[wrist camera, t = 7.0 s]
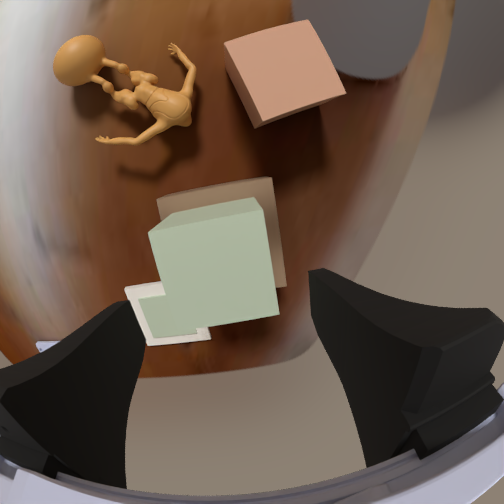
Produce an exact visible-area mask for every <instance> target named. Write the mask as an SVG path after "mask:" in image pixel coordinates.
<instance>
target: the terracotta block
mask: <svg viewBox="0 0 504 504" xmlns="http://www.w3.org/2000/svg"><path fill="white" fill-rule="evenodd" d="M224 54H225V69H226V71H227V73H228V75H229V77H230V79H231V81H232V83H233V85H234V87H235V89H236V91H237V93H238V95H239V97H240V99H241V101H242V103H243V105H244V107H245V110H246V112H247V114H248V116H249V118H250V120H251V122H252V124H253V127H254V129H256V128H258V127H260V126H263V125H265V124H268V123H271V122H273V121H276V120H278V119H281V118H284V117H287V116H289V115H292V114H295V113H298V112H301V111H303V110H306V109H309V108H312V107H315V106H318V105H321V104H323V103H325V102H327V101H330V100H332V99H334V98H337V97H339V96H341V95H344V94H346V92H345V90H344V87H343V85H342V83H341V81H340V79H339V76H338V74H337V72H336V70H335V68H334V66H333V64H332V62H331V60H330V58H329V56H328V54H327V52H326V50H325V48H324V46H323V45H322V43H321V41H320V39H319V37H318V36H317V34H316V32H315V30H314V28H313V27H312V25H311V23H310V22H309V20H304V21H299V22H294V23H290V24H285V25H281V26H277V27H273V28H270V29H266V30H262V31H259V32H256V33H252V34H249V35H246V36H243V37H240V38H237V39H234V40H231V41H228V42H226V43H224Z"/></svg>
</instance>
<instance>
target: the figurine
mask: <svg viewBox="0 0 504 504" xmlns="http://www.w3.org/2000/svg"><path fill="white" fill-rule="evenodd" d="M170 44H171V45H173V46H171V45H168V46H170V47H172V48H173V49H170V48H168V49H169V50H171V51H174V52H173V53H171V54H177V55H178V57H179V59H180V60H181V62H182V63H183V64H184V65H185V67H186V68H187V69H188V70H189V71H188V73H187V76H186V79H185V82H184V85H183V88H182V90H181V91H180V92H175V91H172V90H171V91H170V90H167V89H164V88H158V87H156V86H152V85H155V84H157V83H158V78H157V76H155V75H153V74H150V73H145V72H143V71H130V70H129V68H128V66H127V65H126V64H119V63H117V62H115V61H112V60H108V59H107V58H106V57H105V48H104V46H103V44H102V42H101V41H100V40H99V39H97V38H96V37H93V36H90V35H81V36H77V37H74V38H72V39H70V40H69V41H67V42H66V43H65V44H64V45H63V46H62V47H61V48H60V49H59V50H58V52H57V54H56V56H55V59H54V63H53V70H54V74H55V76H56V78H57V79H58V80H59V81H60V82H61V83H62V84H65V85H68V86H79V85H82V84H85V83H87V82H90V81H92V82H95V83H98V84H101V85H102V87H103V90H104V91H105V92H106V93H110V94H111V96H112V97H113V99H114V100H115V101H117V102H118V103H122V104H125V105H126V106H127V107H129V108H130V109H131V110H136V109H137V108H138V107H139V104H138V102H137V101H139V102H141V103H143V104H144V105H146V107H147V108H148V110H149V111H150V112H151V113H152V115H153V116H154V118H156V119H157V122H156V123H155V124H154V125H153V126H151V127H150V128H149V129H147V130H146V131H144V132H143V133H142V134H140V135H139V136H138V137H137V138H131V137H129V138H123V137H119V138H113V139H109V137H108V136H106V139H105V138H103V137H101V136H99V137H100V138H101V139H100V138H97V137H96V138H97V139H96V138H95V139H96V140H97V141H99V142H101V143H105V144H114V145H120V144H129V145H139V144H141V143H143V142H145V141H147V140H149V139H150V138H152V137H153V136H155V135H156V134H158V133H161V132H163V131H165V130H167V129H168V128H170V127H171V126H174V125H180V126H184V127H187V126H189V125H190V124H191V122H192V118H191V110H192V105H191V102H190V101H191V98H192V95H193V85H194V82H195V77H196V67H195V65H194V64H193V63H191V62H190V61H189V59H188V58H187V57H186V55H185V54H184V53H183V52H182V51H181V50H180V49H179V48H178V47H177V46H176V45H174V44H172V43H170ZM104 66H108V67H112V68H116V69H117V70H118V72H119V73H121V74H125V75H127V76H128V77H129V78H130V79H131V82H132V84H133V85H134V86H136V87H135V91H134V92H132V91H130V90H128V89H123V90H121V91H119V92H118V91H115V90H114V87H113V84H112V83H110V82H108V81H106V80H105V79H103V78H102V77H99V76H97V74H98V73H99V72H100V70H101V68H102V67H104Z"/></svg>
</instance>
